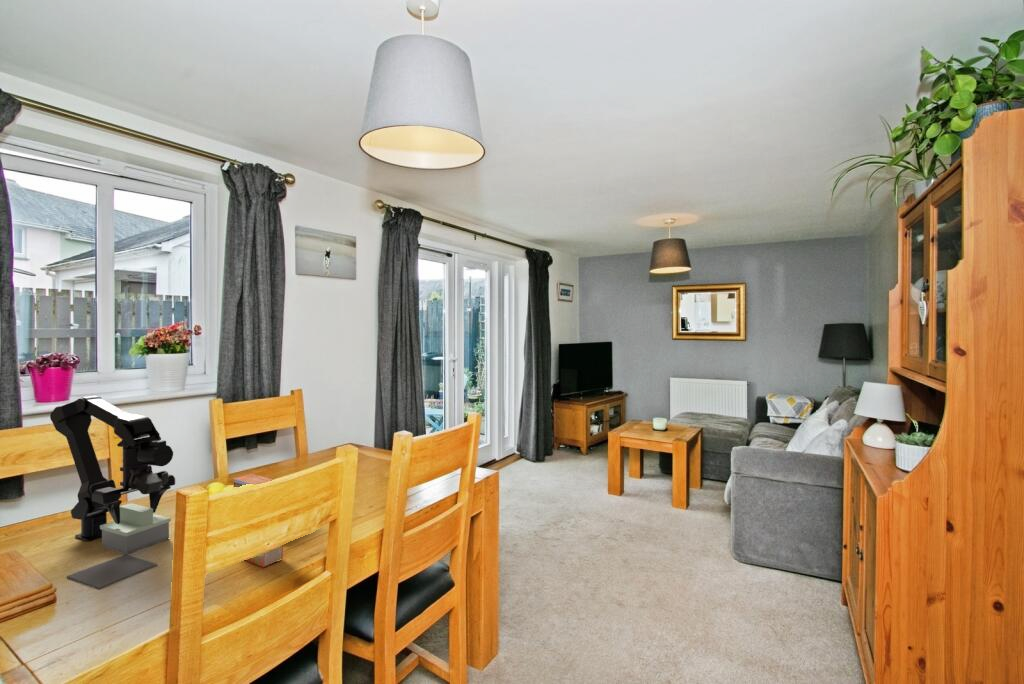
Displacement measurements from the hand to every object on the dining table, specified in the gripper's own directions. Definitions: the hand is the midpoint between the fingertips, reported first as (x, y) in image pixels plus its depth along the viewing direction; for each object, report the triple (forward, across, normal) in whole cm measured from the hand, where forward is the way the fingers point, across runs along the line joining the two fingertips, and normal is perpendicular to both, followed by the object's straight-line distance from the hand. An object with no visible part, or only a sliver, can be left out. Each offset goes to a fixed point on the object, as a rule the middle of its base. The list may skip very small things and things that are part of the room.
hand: (135, 518), depth 141 cm
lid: (+3, 0, 0) cm, 3 cm away
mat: (+7, -12, -12) cm, 19 cm away
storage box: (+7, 0, 0) cm, 7 cm away
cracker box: (+7, +8, -38) cm, 39 cm away
